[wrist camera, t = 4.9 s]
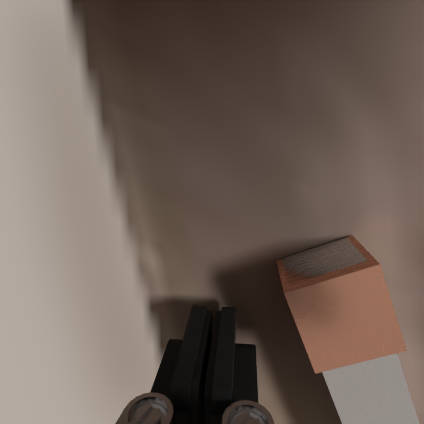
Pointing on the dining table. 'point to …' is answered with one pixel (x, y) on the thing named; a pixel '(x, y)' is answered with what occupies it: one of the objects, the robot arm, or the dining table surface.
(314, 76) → the dining table surface
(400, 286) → the dining table surface
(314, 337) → the arm
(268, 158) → the dining table surface
